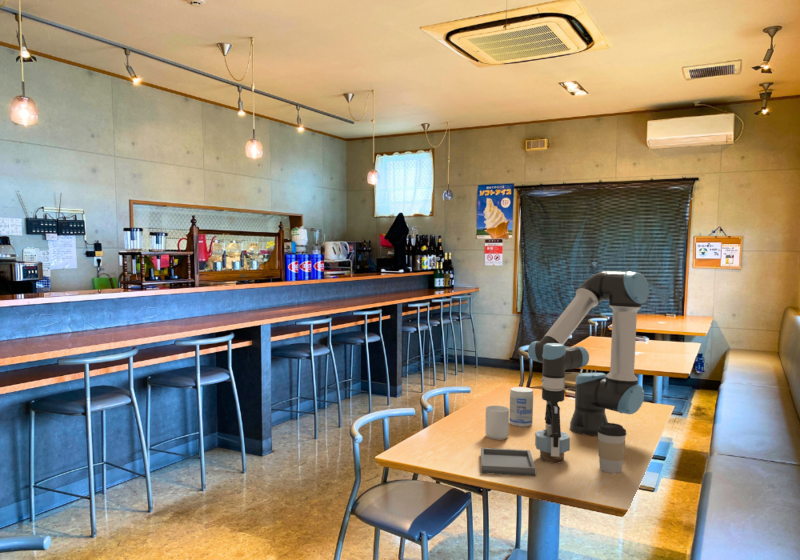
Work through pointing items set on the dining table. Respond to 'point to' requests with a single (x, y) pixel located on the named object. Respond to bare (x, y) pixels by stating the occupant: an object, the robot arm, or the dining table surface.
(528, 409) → the supplement tub
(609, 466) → the coffee cup
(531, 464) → the tray
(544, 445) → the ring
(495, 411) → the mug
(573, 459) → the dining table surface
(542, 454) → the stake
